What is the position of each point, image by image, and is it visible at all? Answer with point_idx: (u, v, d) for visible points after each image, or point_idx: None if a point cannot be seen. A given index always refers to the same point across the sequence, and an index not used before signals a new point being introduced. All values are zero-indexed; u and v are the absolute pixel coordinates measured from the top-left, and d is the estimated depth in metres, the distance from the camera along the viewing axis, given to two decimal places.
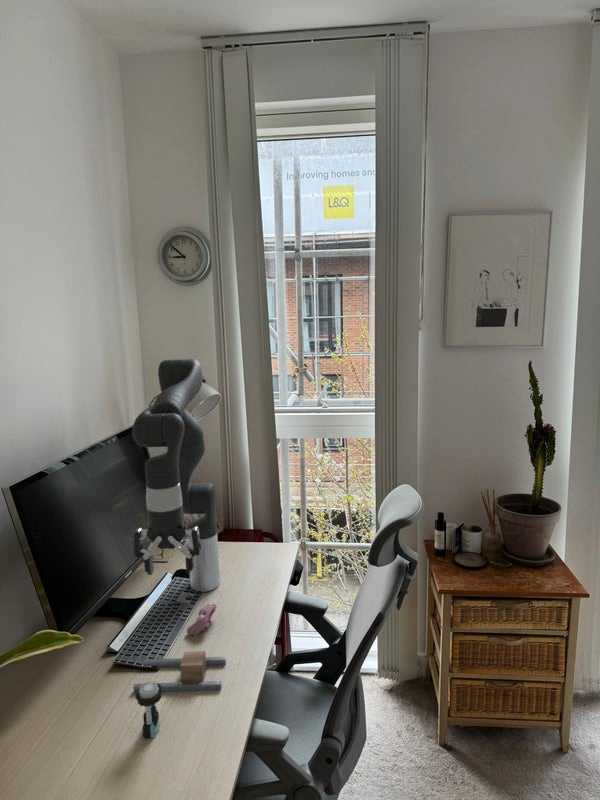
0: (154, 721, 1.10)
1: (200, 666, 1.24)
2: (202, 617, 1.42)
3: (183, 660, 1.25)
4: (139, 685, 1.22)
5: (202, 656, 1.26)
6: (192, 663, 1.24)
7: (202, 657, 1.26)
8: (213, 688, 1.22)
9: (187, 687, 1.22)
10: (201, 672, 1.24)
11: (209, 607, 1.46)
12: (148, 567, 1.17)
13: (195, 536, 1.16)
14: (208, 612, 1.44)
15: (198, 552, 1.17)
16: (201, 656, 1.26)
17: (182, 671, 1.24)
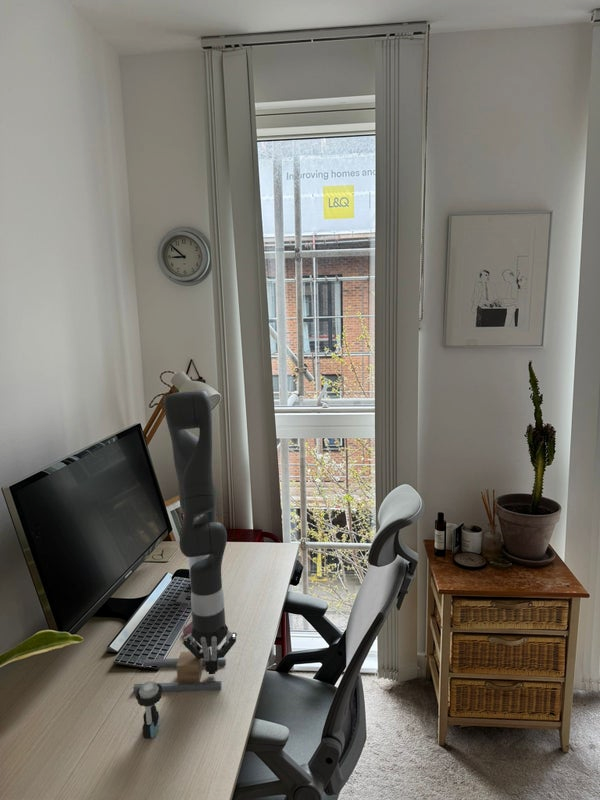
0: (154, 721, 1.10)
1: (196, 666, 1.23)
2: None
3: (179, 660, 1.25)
4: (139, 685, 1.22)
5: None
6: (189, 663, 1.24)
7: None
8: (213, 688, 1.22)
9: (187, 687, 1.22)
10: (197, 672, 1.24)
11: None
12: (209, 667, 1.25)
13: (231, 644, 1.24)
14: None
15: (223, 655, 1.25)
16: None
17: (178, 671, 1.24)
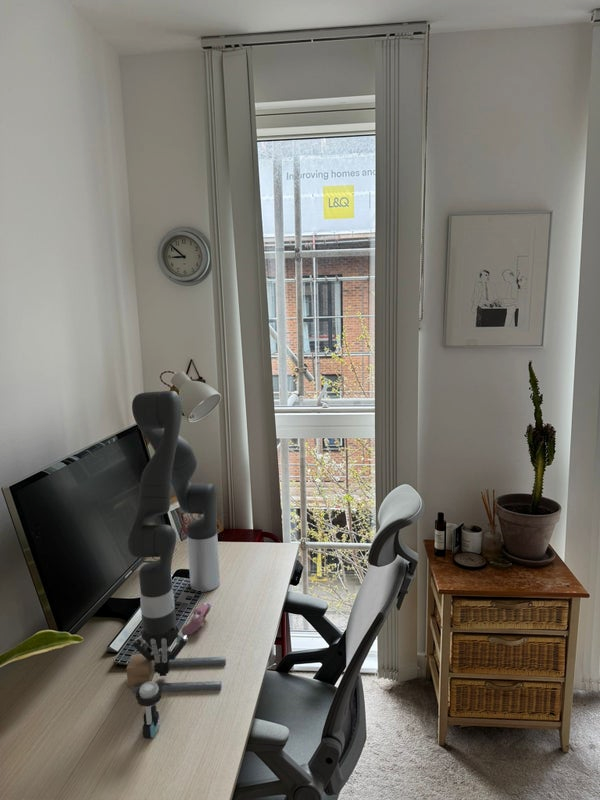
0: (154, 721, 1.10)
1: (146, 669, 1.23)
2: (197, 617, 1.42)
3: (130, 663, 1.25)
4: (139, 685, 1.22)
5: None
6: (139, 665, 1.24)
7: None
8: (213, 688, 1.22)
9: (187, 687, 1.22)
10: (147, 675, 1.23)
11: (204, 607, 1.46)
12: (160, 669, 1.25)
13: (182, 645, 1.24)
14: (203, 612, 1.44)
15: (173, 657, 1.24)
16: None
17: (128, 674, 1.23)
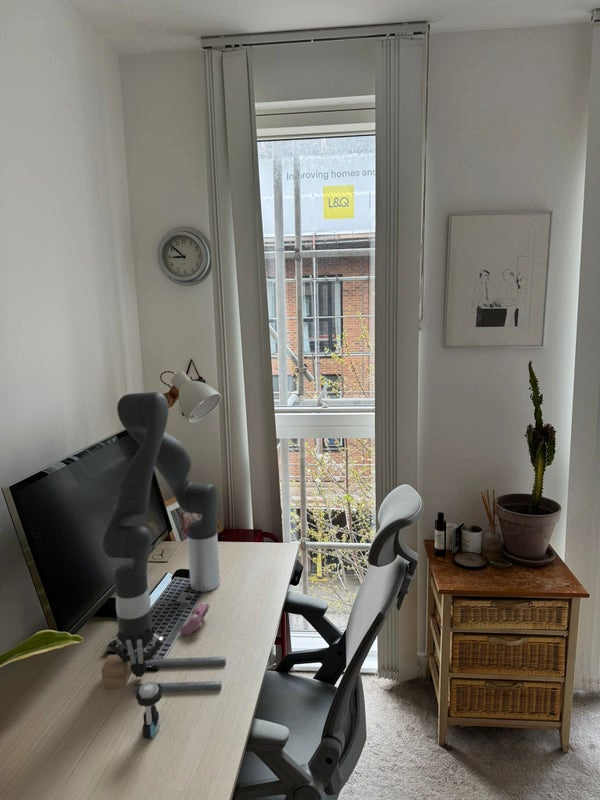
0: (154, 721, 1.10)
1: (121, 669, 1.23)
2: (195, 617, 1.42)
3: (105, 664, 1.25)
4: (139, 685, 1.22)
5: None
6: (114, 666, 1.24)
7: None
8: (213, 688, 1.22)
9: (187, 687, 1.22)
10: (123, 675, 1.23)
11: (202, 607, 1.46)
12: (136, 670, 1.25)
13: (158, 647, 1.24)
14: (201, 612, 1.44)
15: (149, 658, 1.24)
16: None
17: (103, 675, 1.23)
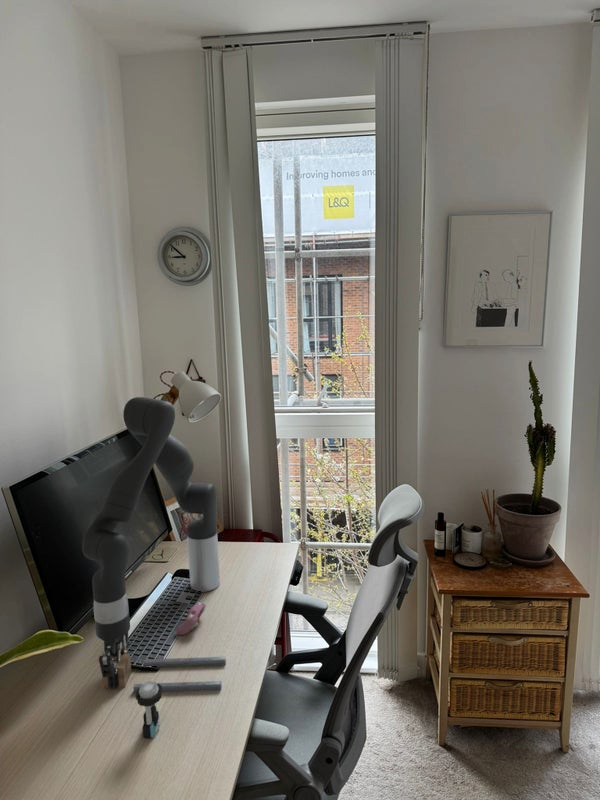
0: (154, 721, 1.10)
1: (121, 669, 1.23)
2: (191, 616, 1.43)
3: None
4: (139, 685, 1.22)
5: (125, 659, 1.26)
6: None
7: (125, 660, 1.26)
8: (213, 688, 1.22)
9: (187, 687, 1.22)
10: (123, 675, 1.23)
11: (198, 606, 1.46)
12: None
13: None
14: (197, 611, 1.44)
15: None
16: (124, 659, 1.26)
17: None
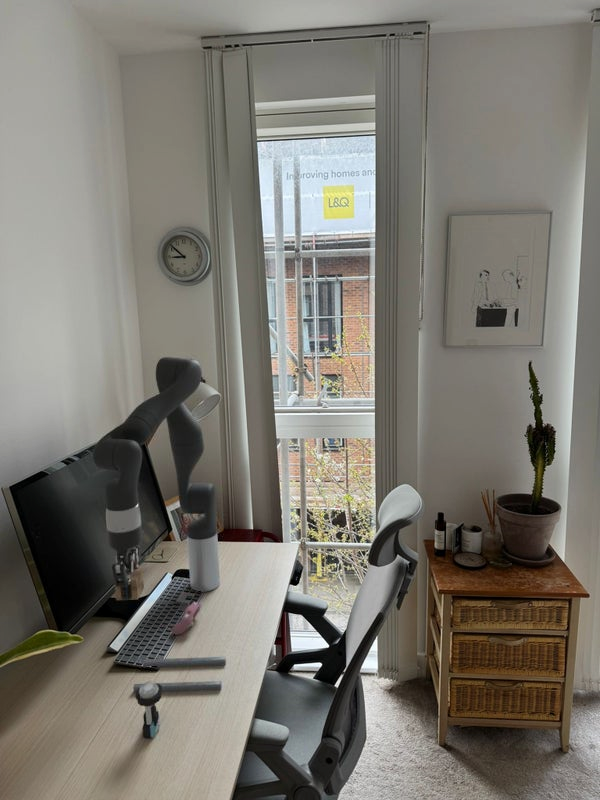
0: (154, 721, 1.10)
1: (134, 581, 1.22)
2: (187, 616, 1.43)
3: None
4: (139, 685, 1.22)
5: (138, 572, 1.24)
6: None
7: (138, 573, 1.24)
8: (213, 688, 1.22)
9: (187, 687, 1.22)
10: (136, 587, 1.22)
11: (194, 606, 1.46)
12: None
13: None
14: (193, 611, 1.44)
15: None
16: (137, 573, 1.24)
17: None
